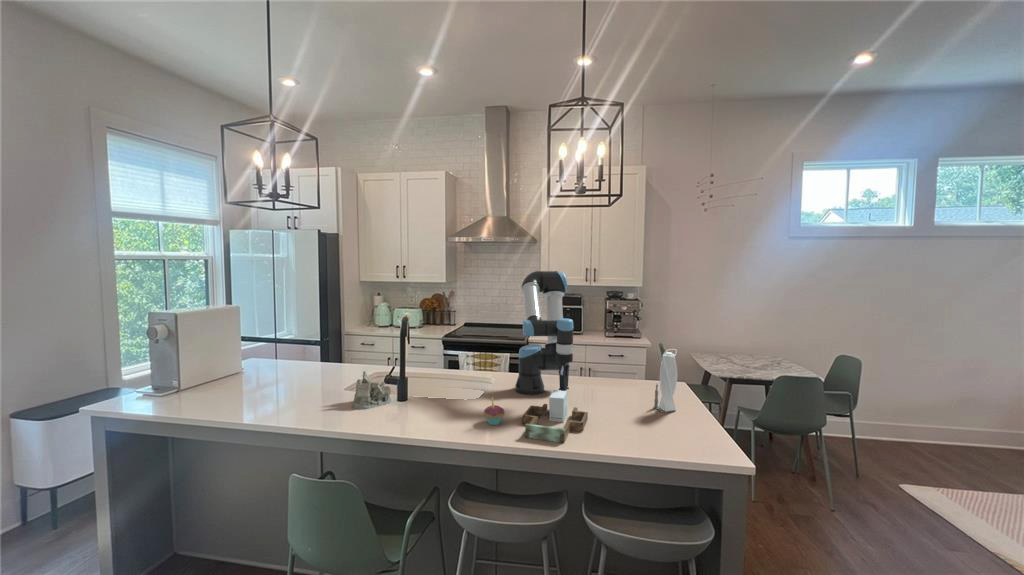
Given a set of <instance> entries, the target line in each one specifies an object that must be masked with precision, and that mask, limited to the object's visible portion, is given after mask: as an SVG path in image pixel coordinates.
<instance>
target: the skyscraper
mask: <svg viewBox="0 0 1024 575" xmlns="http://www.w3.org/2000/svg"><path fill="white" fill-rule="evenodd" d="M670 351H675V353H673V352H670ZM677 353H678V349H676V348H668V349H666V350H665V351H664V352H663V354H662V358H661V362H660V368H659V385H658V384H656V385H655V390H654V405H653V407H654V408H653V409H655V408H656V409H655V410H657V409H658V410H657V411H659V410H660V411H662V412H666V413H670V412H669V411H674V412H676V411H677V409H676V406H675V399H674V396H675V395H674V394H675V391H676V388H677V384H678V367H677V360H676V356H677ZM658 386H659V387H660V388H659V387H658ZM658 388H659V389H660V394H661V399H660V401H659V389H658ZM660 411H659V412H660ZM662 412H661V413H662Z"/></svg>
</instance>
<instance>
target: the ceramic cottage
mask: <svg viewBox="0 0 1024 575" xmlns="http://www.w3.org/2000/svg"><path fill="white" fill-rule="evenodd" d="M391 392H392V389H391V387H390V386H389V385H385V381H384V380H382V381H379V382H378V381H377V382H375V381H374V382H373V380H372V379H371V378H370V376H369V375H368V374H367V372H366V370H365V371H364V370H363V372H362V379H361V378H357V379H356V385H355V394H354V396H353V398H354V399H353V401H352V403H351V404H352V405H351V408H352V409H353V410H370V409H373V408H376V407H377V408H378V407H382V406H386V405H389V404H390V403H391V402H392V398H391Z"/></svg>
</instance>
